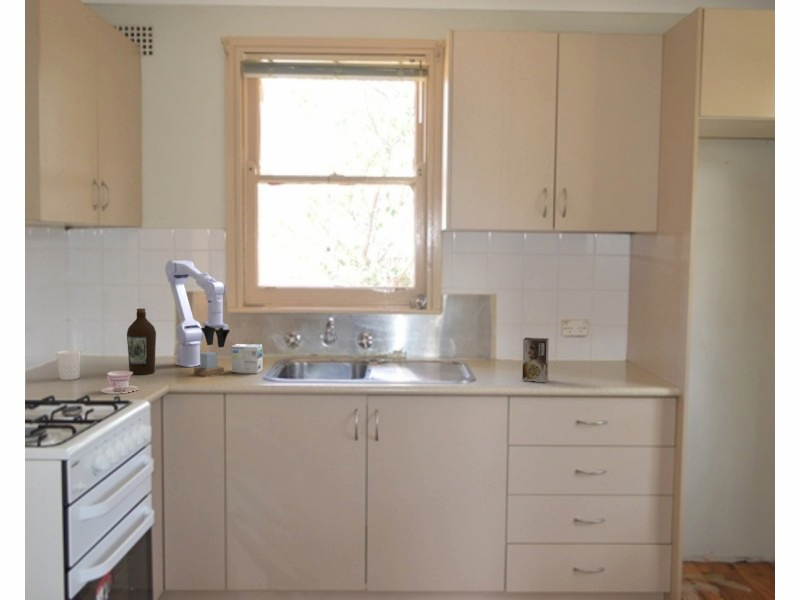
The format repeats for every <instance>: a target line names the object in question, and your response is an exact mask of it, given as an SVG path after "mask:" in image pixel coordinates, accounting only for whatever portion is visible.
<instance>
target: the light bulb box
mask: <svg viewBox="0 0 800 600" xmlns="http://www.w3.org/2000/svg"><path fill="white" fill-rule="evenodd" d="M262 371H263V344H259V343H258V344H254V343H253V344H250V343H244V344H243V343H236V344H234V345H232V346H231V373H232V372H239V373H238V374H259V373H261V372H262Z"/></svg>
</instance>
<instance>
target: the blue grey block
mask: <svg viewBox="0 0 800 600" xmlns="http://www.w3.org/2000/svg"><path fill="white" fill-rule="evenodd" d="M217 366H218V352H213V351H207V352H200V366H199V367H201V368H206V369H210V368H216V367H217Z"/></svg>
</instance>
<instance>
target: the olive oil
mask: <svg viewBox="0 0 800 600" xmlns="http://www.w3.org/2000/svg"><path fill="white" fill-rule="evenodd" d="M146 317H147V312H146V308H143V307H141V308H140V307H139V308H137V309H136V318H135V320H134V321H133V322H132V323H131V324H130V325H129V326H128V328H127V332H126V343H127V354H128V357H127V358H128V371H130V372H133V373H132V375H136V376H137V375H138V376H140V375H150V374H151V375H152V374H153V373H155V372H156V347H157V346H156V341H157V331H156V328H155V326H154V325H153V324H152V323H151V322H150V321H149V320H148V319H147V318H146Z"/></svg>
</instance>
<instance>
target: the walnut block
mask: <svg viewBox="0 0 800 600" xmlns="http://www.w3.org/2000/svg"><path fill="white" fill-rule="evenodd" d="M222 373H224V374H225V369H224V367H223V366H219V365H217V367H216V368H210V369H206V368H201V367H200V366H193V375H195V374H198V375H197V376H200V375H203V376H202V377H204V376H209V377H212V376H211V375H215V376H218V375H217V374H221V375H223V374H222Z"/></svg>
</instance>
